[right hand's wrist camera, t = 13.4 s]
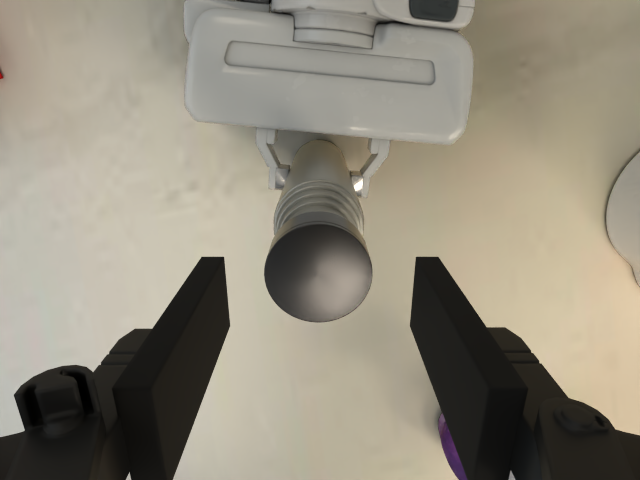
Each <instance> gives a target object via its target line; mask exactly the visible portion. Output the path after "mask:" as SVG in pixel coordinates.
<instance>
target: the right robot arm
mask: <svg viewBox="0 0 640 480" xmlns="http://www.w3.org/2000/svg"><path fill="white" fill-rule="evenodd" d="M229 327H230V320H229V309H228V297H227V286H226V274H225V263H224V257H201V259H200V260H199V262H198V263H197V265H196V266H195V268H194V269H193V270H192V272H191V273H190V275H189V276H188V278H187V279H186V281H185V282H184V284H183V285H182V287H181V288H180V289H179V291H178V292H177V294H176V295H175V297H174V298H173V300H172V301H171V303H170V304H169V305H168V307H167V308H166V310H165V311H164V313H163V314H162V316H161V317H160V319H159V320H158V321H157V323H156V324H155V326H154V327H153V329H134V330H133V331H131V332H130V333H128V334H127V335H125V336H124V337H122V338H121V339H119V340H118V342H117V343H116V344H115V345H114V347H113V348H112V349H111V351H110V352H109V354H107V356H106V357H105V358H104V359H103V361H102V362H101V365H99V366H98V367H97V368H96V370H95V371H94V372H92V371H91V370H90V369H88V368H87V367H84V366H79V365H70V366H61V367H57V368H54V369H50V370H47V371H45V372H43V373H41V374H38V375H36V376H34V377H32V378H31V379H30V380H28V381H27V382H26V383H24V384H23V385H21V387H20V388H19V389H18V390H17V392H16V393H15V394H14V397H15V400H16V403H17V407H18V410H19V413H20V416H21V419H22V422H23V425H24V428H25V431H24V432H21V433H17V434H13V435H9V436H4V437H0V480H126V478H127V476H128V474H129V472H130V476H131V480H173V477H174V475H175V472H176V469H177V467H178V464H179V461H180V459H181V456H182V453H183V451H184V448H185V445H186V443H187V440H188V437H189V434H190V432H191V429H192V426H193V424H194V421H195V418H196V416H197V413H198V410H199V408H200V405H201V402H202V400H203V397H204V394H205V392H206V389H207V386H208V384H209V381H210V378H211V376H212V373H213V370H214V367H215V365H216V362H217V359H218V357H219V354H220V351H221V349H222V346H223V343H224V341H225V338H226V335H227V333H228V330H229ZM410 327H411V330H412V333H413V335H414V338H415V341H416V343H417V346H418V349H419V351H420V354H421V357H422V359H423V362H424V365H425V367H426V370H427V373H428V376H429V378H430V381H431V384H432V386H433V389H434V392H435V394H436V397H437V400H438V402H439V405H440V408H441V410H442V413H443V416H444V418H445V421H446V424H447V426H448V429H449V432H450V434H451V437H452V440H453V443H454V445H455V448H456V451H457V453H458V456H459V459H460V461H461V464H462V467H463V469H464V472H465V475H466V477H467V480H509V476H510V471H511V472H512V474H513V476H514V478H515V480H640V436H639V435H635V434H631V433H626V432H622V431H619V430H615V428H614V427H613V425H612V424H611V423H610V421H609V420H608V419H607V418H606V417H605V416H604V415H603V414H601V413H600V412H599V411H598V410H596V409H594V408H592V407H590V406H589V405H587V404H585V403H583V402H579V401H576V400H573V399H570V398H568V397H567V395H566V394H565V393H564V392H563V390H562V389H561V388H560V387H559V385H558V384H557V383H556V382H555V380H554V379H553V378H552V377H551V375H550V374H549V373H548V372H547V370H546V369H545V368H544V366H543V365H542V364H540V363H539V360H538V359H537V358H536V356H535V355H534V354H533V353H531V350H530V349H529V348H528V346H527V345H526V344H525V343H524V341H523V340H522V339H521V338H520V337H519V336H517V335H516V334H514V333H513V332H511V331H510V330H508V329H507V328H487V327H486V326H485V324H484V323H483V321H482V320H481V319H480V317H479V316H478V314H477V313H476V311H475V310H474V308H473V307H472V305H471V304H470V303H469V301H468V300H467V298H466V297H465V295H464V294H463V292H462V291H461V289H460V288H459V287H458V285H457V284H456V282H455V281H454V279H453V278H452V276H451V275H450V273H449V272H448V270H447V269H446V268H445V266H444V265H443V263H442V262H441V260H440V259H439V257H416V263H415V274H414V286H413V297H412V309H411V320H410Z"/></svg>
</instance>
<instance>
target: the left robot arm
mask: <svg viewBox="0 0 640 480" xmlns="http://www.w3.org/2000/svg"><path fill="white" fill-rule="evenodd" d="M270 3H271V13H270ZM474 8H475V0H236V1H230V0H185V3H184V8H183V17H184V34H185V38H186V40H187V42H188V44H189V49H188V56H187V64H186V74H185V90H184V104H185V108H186V109H187V111H188V112H189V114H190V115H191V116H192V118H193V119H194V120H195V121H197V122H205V123H216V124H226V125H237V126H248V127H256V145H257V146H258V148H259V150H260V152H261V154H262V156H263V158H264V160H265V162H266V164H267V166H268V167H270V169H269V189H273V190H283V188H284V185H285V182H286V180H287V177H288V174H289V171H290V165H285V164H280V162H279V160H278V158H277V156H276V154H275V151H274V149H273V147H272V145H271V144H274V143H275V142H276V141H277V135H278V129H279V130H290V131H301V132H311V133H322V134H332V135H343V136H353V137H364V138H368V146H367V148H368V150H369V151H370V152H371V154H372V155H371V156H370V158H369V159H368V160H367V162H366V163H365V165H364V166H363V167H362V169H361V170H360V171H350V176H351V179H352V182H353V185H354V188H355V191H356V194H357V197H363V198H367V196H368V191H369V184H370V176H373V175H374V173H375V172H376V171H377V169H378V168H379V167H380V166H381V164H382V163H383V162H384V160H385V159H386V158H387V157H388V154H389V147H390V141H391V140H396V141H406V142H417V143H428V144H438V145H452V144H454V143H455V142H456V141H457V140H458V139H459V138H460V137H461V136H462V135H463V133H464V132H465V129H466V125H467V121H468V115H469V109H470V102H471V94H472V84H473V69H474V61H473V53H472V49H471V46H470V44H469V42H468V41H467V39H466V38H465V37H464V36H463V35H461V34H460V33H458V31H460V30H462V29H463V28H465V27H466V26H467V25H468V24H469V23H470V21H471V19H472V16H473V13H474ZM606 225H607V231H608V235H609V238H610V241H611V243H612V245H613V246H614V248H615V249H616V251H617V252H618V253H619V254H620V255H621V256H622V257H623V258H624V259H625V260H626V261H627V262H628V263H629V264H630V265H631V267H632V268H633V271H634V275H635V278H636V281H637V283H638V285H639V287H640V152H639V153H638V154H637V155H636V156H635V157H634V158H633V159H632V160H631V161H630V162H629V163H628V165H627V166H626V167H625V168H624V170H623V171H622V173H621V174H620V176H619V177H618V179H617V181H616V183H615V185H614V187H613V189H612V192H611V195H610V198H609V201H608V206H607V213H606Z"/></svg>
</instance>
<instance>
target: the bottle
mask: <svg viewBox="0 0 640 480" xmlns="http://www.w3.org/2000/svg"><path fill="white" fill-rule="evenodd" d="M312 211H324V212H330V213H334V214H337V215H339V216H341V217H344V218H345V219H347V220H348V221H350V222H351V223H352V224H353V225H354V226H355V227H356V228H357V229H358V230H359V232H360V233H361V235H362V236H363V231H364V217H363V212H362V208H361V205H360V203H359V200H358V197H357V194H356V191H355V188H354V185H353V182H352V179H351V176H350V173H349V170H348V168H347V165H346V162H345V159H344V156H343V154H342V152H341V151H340V149H339V148H338V147H337V146H335V145H334V144H333V143H331V142H328V141H325V140H314V141H310V142H308V143H306V144H305V145H303V146H302V147H301V148H300V149H299V150H298V152H297V153H296V155H295V158H294V160H293V163H292V166H291V169H290V171H289V174H288V177H287V180H286V182H285V185H284V188H283V191H282V193H281V196H280V199H279V202H278V205H277V207H276V210H275V214H274V235H275V234H276V233H277V232H278V230H279V229H280V228H281V227H282V226H283V225H284V224H285V223H286V222H287V221H289V220H290V219H292V218H293V217H295V216H298V215H300V214H303V213H307V212H312Z"/></svg>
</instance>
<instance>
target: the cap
mask: <svg viewBox="0 0 640 480" xmlns="http://www.w3.org/2000/svg"><path fill="white" fill-rule="evenodd" d="M264 276H265V283H266V287H267V289H268V292H269V294H270V296H271V297H272V299H273V300H274V302H275V303H276V304H277V305H278V306H279V307H280V308H281V309H282V310H284V311H285V312H286V313H288V314H289V315H291V316H293V317H295V318H298V319H301V320H304V321H309V322H327V321H333V320H336V319H339V318H341V317H344V316H346V315H347V314H349V313H351V312H352V311H353V310H355V309H356V308H357V307H358V306H359V305H360V304H361V303H362V301H363V300H364V299H365V297H366V295H367V293H368V291H369V289H370V286H371V282H372V264H371V260H370V257H369V253H368V250H367V247H366V243H365V240H364V238H363V236H362V235H361V233H360V232H359V230H358V229H357V228H356V227H355V226H354V225H353V224H352V223H351V222H350V221H348V220H347V219H345V218H344V217H341V216H339V215H337V214H334V213H330V212H324V211H312V212H307V213H303V214H300V215H298V216H295V217H293V218H292V219H290V220H289V221H287V222H286V223H285V224H284V225H283V226H282V227H281V228H280V229H279V230H278V232H277V233H276V234H275V236H274V238H273V240H272V243H271V246H270V249H269V253H268V256H267V259H266V263H265V269H264Z"/></svg>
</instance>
